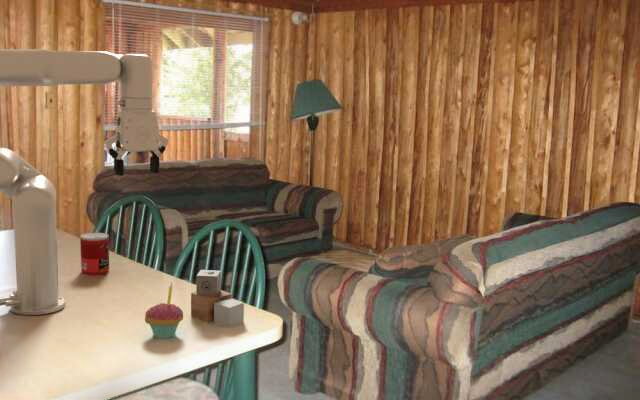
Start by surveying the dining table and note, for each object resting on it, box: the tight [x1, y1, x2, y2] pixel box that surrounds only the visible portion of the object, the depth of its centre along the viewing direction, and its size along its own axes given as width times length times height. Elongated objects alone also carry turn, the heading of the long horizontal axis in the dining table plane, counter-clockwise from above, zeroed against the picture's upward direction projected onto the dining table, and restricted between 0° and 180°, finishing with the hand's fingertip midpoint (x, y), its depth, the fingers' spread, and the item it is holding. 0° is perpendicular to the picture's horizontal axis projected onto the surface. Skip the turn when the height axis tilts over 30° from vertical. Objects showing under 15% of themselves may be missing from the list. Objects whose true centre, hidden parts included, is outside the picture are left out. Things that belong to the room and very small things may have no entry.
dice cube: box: [195, 269, 222, 296], centre depth 170 cm, size 5×5×5 cm
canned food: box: [79, 232, 110, 276], centre depth 204 cm, size 8×8×11 cm
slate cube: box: [213, 298, 245, 328], centre depth 167 cm, size 5×5×5 cm
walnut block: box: [190, 289, 233, 324], centre depth 171 cm, size 7×7×6 cm
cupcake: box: [144, 282, 184, 339], centre depth 157 cm, size 9×8×12 cm
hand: (137, 173), depth 175 cm, fingers open, 9 cm apart
